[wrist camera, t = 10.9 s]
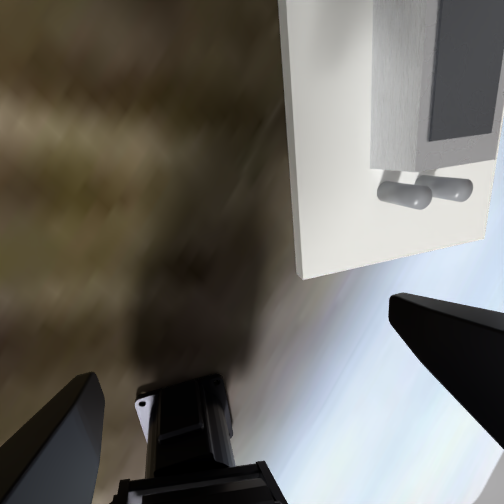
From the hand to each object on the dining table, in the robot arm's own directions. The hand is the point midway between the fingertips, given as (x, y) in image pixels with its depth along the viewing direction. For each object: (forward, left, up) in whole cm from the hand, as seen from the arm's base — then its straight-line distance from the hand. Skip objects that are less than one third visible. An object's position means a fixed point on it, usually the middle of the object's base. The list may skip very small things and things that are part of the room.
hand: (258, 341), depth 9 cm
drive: (+8, -14, -11) cm, 19 cm away
